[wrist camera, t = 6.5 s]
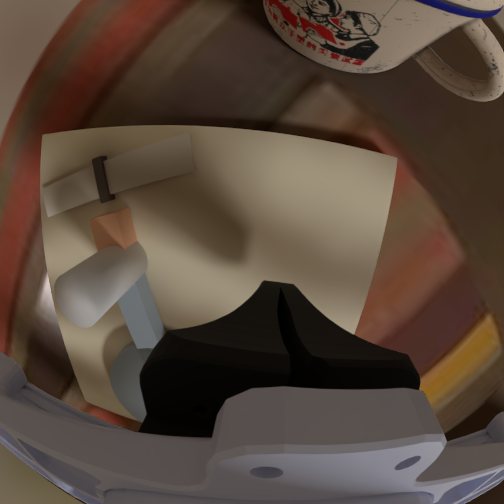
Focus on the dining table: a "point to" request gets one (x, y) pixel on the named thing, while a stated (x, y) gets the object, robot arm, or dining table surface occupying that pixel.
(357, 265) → the cream flat board
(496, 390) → the dining table surface
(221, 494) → the robot arm
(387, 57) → the teacup with lid
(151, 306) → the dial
